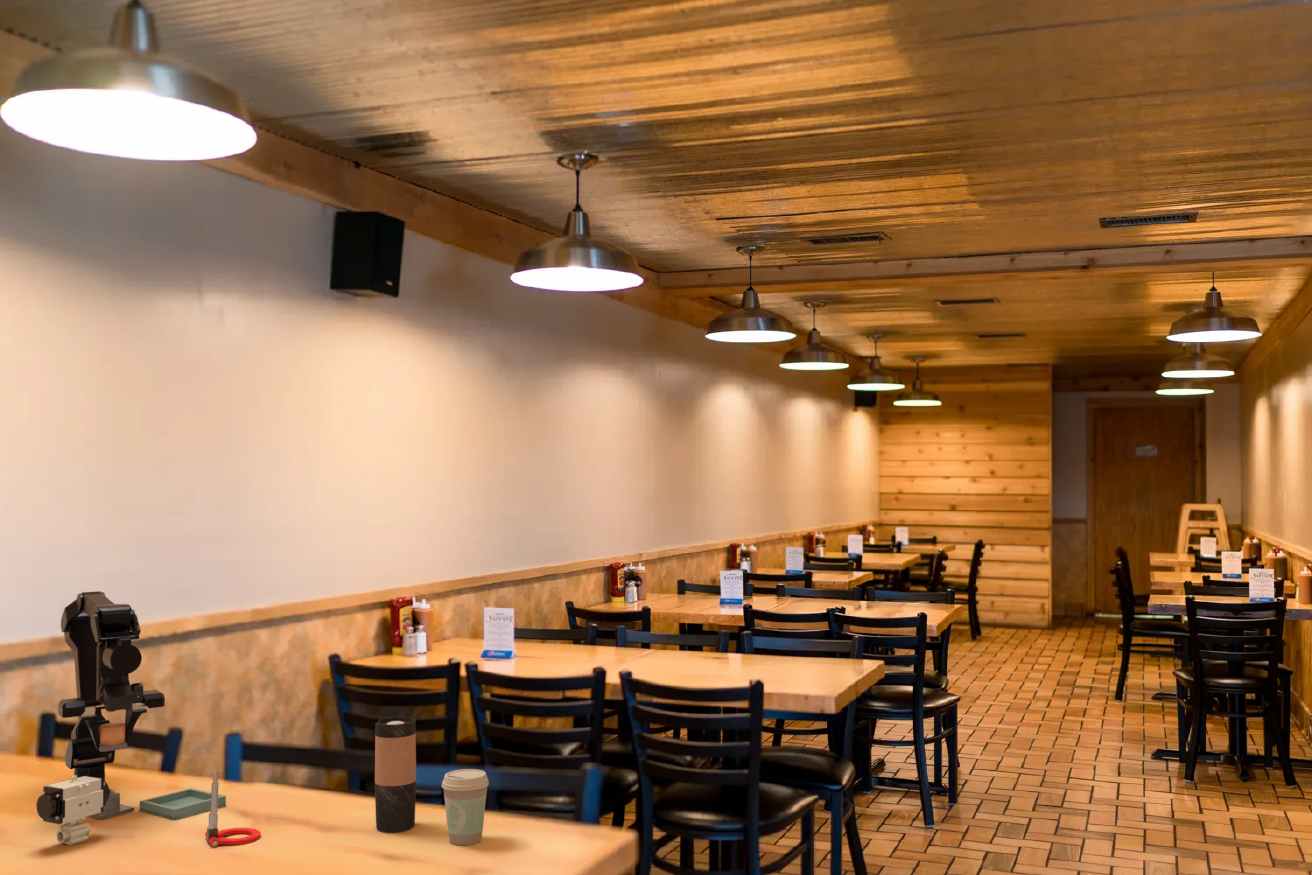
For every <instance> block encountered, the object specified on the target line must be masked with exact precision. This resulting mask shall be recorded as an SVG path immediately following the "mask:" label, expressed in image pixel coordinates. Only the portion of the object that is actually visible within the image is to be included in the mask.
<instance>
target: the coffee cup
mask: <svg viewBox="0 0 1312 875" xmlns="http://www.w3.org/2000/svg"><path fill="white" fill-rule="evenodd" d="M441 783H442V784H441V788H443V797H444V798H443V799H444V807H445V808H444V809H445V814H446V815H445V816H446V824H447V825H446V826H447V833H448V841H449V843H450V844H452V845H455V846H472V845H475V844H474V843H476V844H478V843H480V842H481V841H482V838H483V830H484V823H485V822H484V820H485V811H486V810H485V809H486V803H487V802H486V801H487V793H488V792H487V791H488V786H490V785H489V784H490V782H489V778H488V776H487V772H486V771H484V770H482V769H476V768H470V769H469V768H463V769H462V768H461V769H457V770H452V771H448V772H446V773H445V774H444V776H443V780H442V782H441ZM471 844H472V845H471Z"/></svg>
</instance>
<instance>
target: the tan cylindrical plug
mask: <svg viewBox="0 0 1312 875" xmlns="http://www.w3.org/2000/svg"><path fill="white" fill-rule="evenodd" d="M99 741H100V744H99V749H98V750H99V751H100V752H105V751H112V750H115V751H117V750H119V751H120V750H127V749H128V745H127V743H126V742H125V722H110V723H109V724H103V725H100V726H99Z"/></svg>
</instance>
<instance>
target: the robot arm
mask: <svg viewBox="0 0 1312 875" xmlns="http://www.w3.org/2000/svg"><path fill="white" fill-rule="evenodd" d="M61 615H62V616H61V619H60V630H61V632H62V633H64V634H63V635H64V642H65V644H66V645H67V646H68V647H69V648H70V650H72V652H73V654H74V655H73V656H74V658H73V659H74V670H75V672H74V673H75V686H76V689H75V690H76V697H75V698H74V697H73V698H63V699H61V700H60V701H59V702H58V706H57V713H58V715H59V716H60V717H61V718H62V719H64V718H65V719H67V718H74V717H77V722H76V723H75V725H74V727H73V729H72V730H71V733H70V738H71V739H69V741H68V744H67V748H66V751H65V754H64V760H65V763H64V764H65V766H66V767H67V768H68V769H69V770H73V776H75V775H76V776H77V778H79V777H83V776H87V775H89V776H95V777H101V778H104V781H105V782H106V764H114V762H115V755H116V750H112V751H105V752H100V751H99V750H98V749H99V744H100V741H99V726H100V725H103V724H109V723H111V722H110V720H109V719H106V717H105V716H104V715H103V714H102V710H105V711H106V712H108V713H109V712H110V713H111V712H112V713H113V712H116V711H122V710H125V718H124V724H125V742H126V743H127V746H128V745H129V742H130V740H131V737H132V734H133V731H134V728H135V726H136V724H137V721H138V719H139V718H140V717H141V716H142V714H146V713H147V712H148V710H147V709H155V708H163V707H165V706H166V698H165V694H164V693H163V692H161V691H159V690H158V689H151V690H150V689H149V690H144V684H143V683H142V682H133V683H130V678H129V674H132V673H134V672H135V671H137V670H138V669H139V667H140V666H141V663H142V661H143V656H142V654H141V653H142V652H141V651H140V650H139V648H138V647H137V646H135V645H133V644H132V641H133V640H139V639H140V635H141V631H142V630H141V626H140V622H139V619H138V614H136V611H135V610H134V609H132V606H131V605H130V604H127V603H115V602H113V601H111V600H110V599H109V598H108V597H107V596H106V593H105V592H102V591H99V590H98V591H82V592H81V593H78V594H77V596H76V599H75V600H74V601H72V602H71V603H69V604H68V605H67V606H65V607H64V610H63V612H62V614H61ZM146 708H147V709H146ZM109 789H110V788H109ZM110 791H113V790H112V789H110Z"/></svg>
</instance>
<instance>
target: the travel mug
mask: <svg viewBox="0 0 1312 875" xmlns="http://www.w3.org/2000/svg"><path fill="white" fill-rule="evenodd" d="M374 725H375V726H374V727H375V728H374V730H375V734H374V735H375V737H374V738H375V739H374V740H375V741H374V742H375V743H374V745H375V746H374V749H375V750H374V762H375V763H374V799H375V800H374V802H375V804H374V806H375V824H376V825H375V827H376V830H377V831H378V832H381V833H395V834H396V833H403V832H406V831H410V830H412V829H414V827H415V824H416V823H415V822H416V795H417V792H416V791H417V749H416V748H417V746H416V745H417V742H416V740H417V735H416V734H417V733H416V732H417V731H416V730H417V729H416V728H417V727H416V725H417V724H416V719H415V718H413V717H408V716H393V717H390V716H389V717H384V718H380V719H378V720H377V722H375V724H374Z"/></svg>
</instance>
